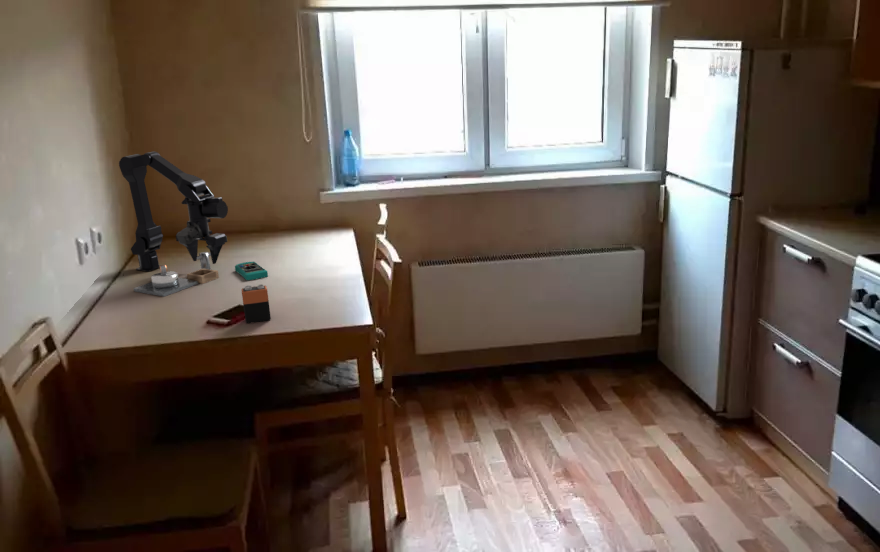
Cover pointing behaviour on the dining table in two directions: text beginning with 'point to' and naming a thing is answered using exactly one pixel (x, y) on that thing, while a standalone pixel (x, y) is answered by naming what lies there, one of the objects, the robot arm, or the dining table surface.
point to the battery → (256, 303)
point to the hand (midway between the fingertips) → (204, 262)
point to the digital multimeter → (251, 270)
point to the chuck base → (166, 291)
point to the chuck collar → (165, 278)
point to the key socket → (203, 275)
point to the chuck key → (204, 260)
